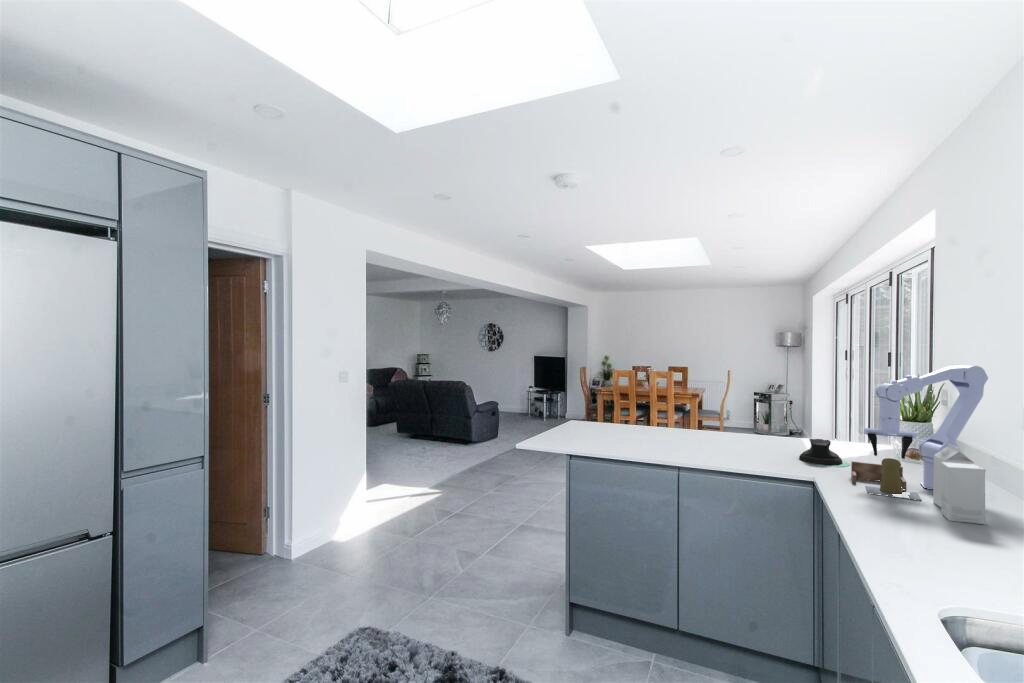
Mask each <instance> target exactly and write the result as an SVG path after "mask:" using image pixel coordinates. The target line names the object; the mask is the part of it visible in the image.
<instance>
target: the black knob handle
mask: <svg viewBox="0 0 1024 683" xmlns="http://www.w3.org/2000/svg"><path fill="white" fill-rule="evenodd" d="M808 440H809V442H810V448H809V449H806V450H805V451H803V452H801V453H800V455H799V458H798V460H800V461H802V462H804V463H808V464H811V465H817V466H819V467H827V468H828V467H829V468H837V467H838V468H843V467H847V466H850V462H848V461H843V460H842V458H841V456H840V455H839V454H837V453H836V452H834V451H832V450H831V449H830V446H831V442H832V441H831V440H830V439H823V438H809V439H808Z"/></svg>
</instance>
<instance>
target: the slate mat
mask: <svg viewBox="0 0 1024 683" xmlns="http://www.w3.org/2000/svg"><path fill="white" fill-rule="evenodd" d="M866 489H867V490H866ZM865 490H866V493H867V492H868V493H873V494H872V495H874V494H881V495H888V496H893V495H892V494H889V493H884V492H881V491H880V487H875V486H868V485H865ZM909 492H910V495H908V496H909V498H910V499H916V500H915V501H917V500H922V501H923V499H922V498H921V496H920V495H919V494H918V492H914V491H909ZM868 493H867V494H868ZM881 495H880V496H881ZM888 496H887V497H888Z"/></svg>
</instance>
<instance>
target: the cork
mask: <svg viewBox="0 0 1024 683" xmlns="http://www.w3.org/2000/svg"><path fill="white" fill-rule="evenodd" d="M881 464H882V466H883V474H882V479H881V481H880V485H879V486H880V487H879V488H880V491H881V492H884V493H889V494H902V491H903V490H902V488H901V481H900V474H899V469H900V468H901V467H902V463H901V461H900V460H899V459H896V458H889V457H888V458H886V457H885V458H883V459H882V460H881Z"/></svg>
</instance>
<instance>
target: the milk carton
mask: <svg viewBox="0 0 1024 683" xmlns="http://www.w3.org/2000/svg"><path fill="white" fill-rule="evenodd" d="M941 462H947V463H962V464H975V462H974V461H973V460H972V459H970V458H969V457H968V456H966V455H965V454H964V453H962V452H961V448H960V446H959V447H956V446H953V445H951V444H948V443H947V447H946V448H945V449H942V450H941V451H940V452H938V453H937V454H935V455H934V480H933V489H932V490H933V493H932V494H933V495H932V496H933V497H932V498H933V499H932V500H933V501H932V502H933V504H935V505H936V506H938V507H939V508H941Z"/></svg>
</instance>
